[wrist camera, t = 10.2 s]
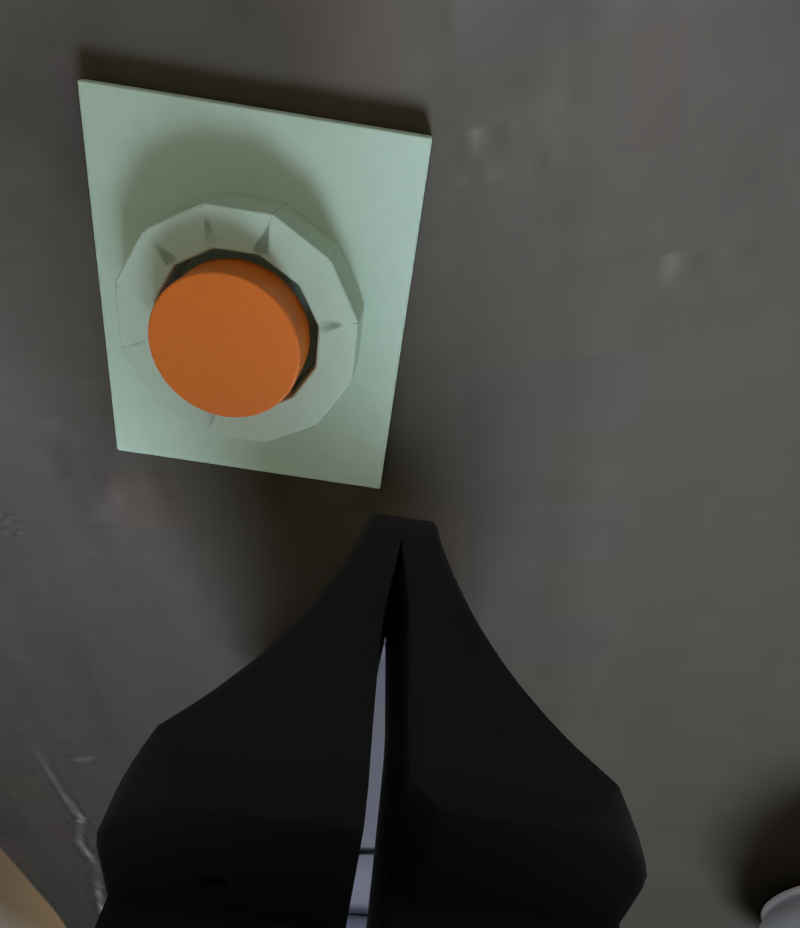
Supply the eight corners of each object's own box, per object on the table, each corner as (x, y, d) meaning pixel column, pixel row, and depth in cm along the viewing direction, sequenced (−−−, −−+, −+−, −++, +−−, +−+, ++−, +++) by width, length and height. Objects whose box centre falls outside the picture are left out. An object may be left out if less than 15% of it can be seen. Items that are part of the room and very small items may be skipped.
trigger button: (306, 405, 20) (296, 428, 19) (172, 384, 20) (152, 406, 19) (315, 270, 18) (305, 285, 17) (165, 246, 18) (141, 259, 17)
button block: (381, 479, 24) (375, 517, 22) (124, 441, 24) (93, 475, 22) (433, 135, 18) (431, 141, 16) (88, 79, 18) (40, 77, 16)
